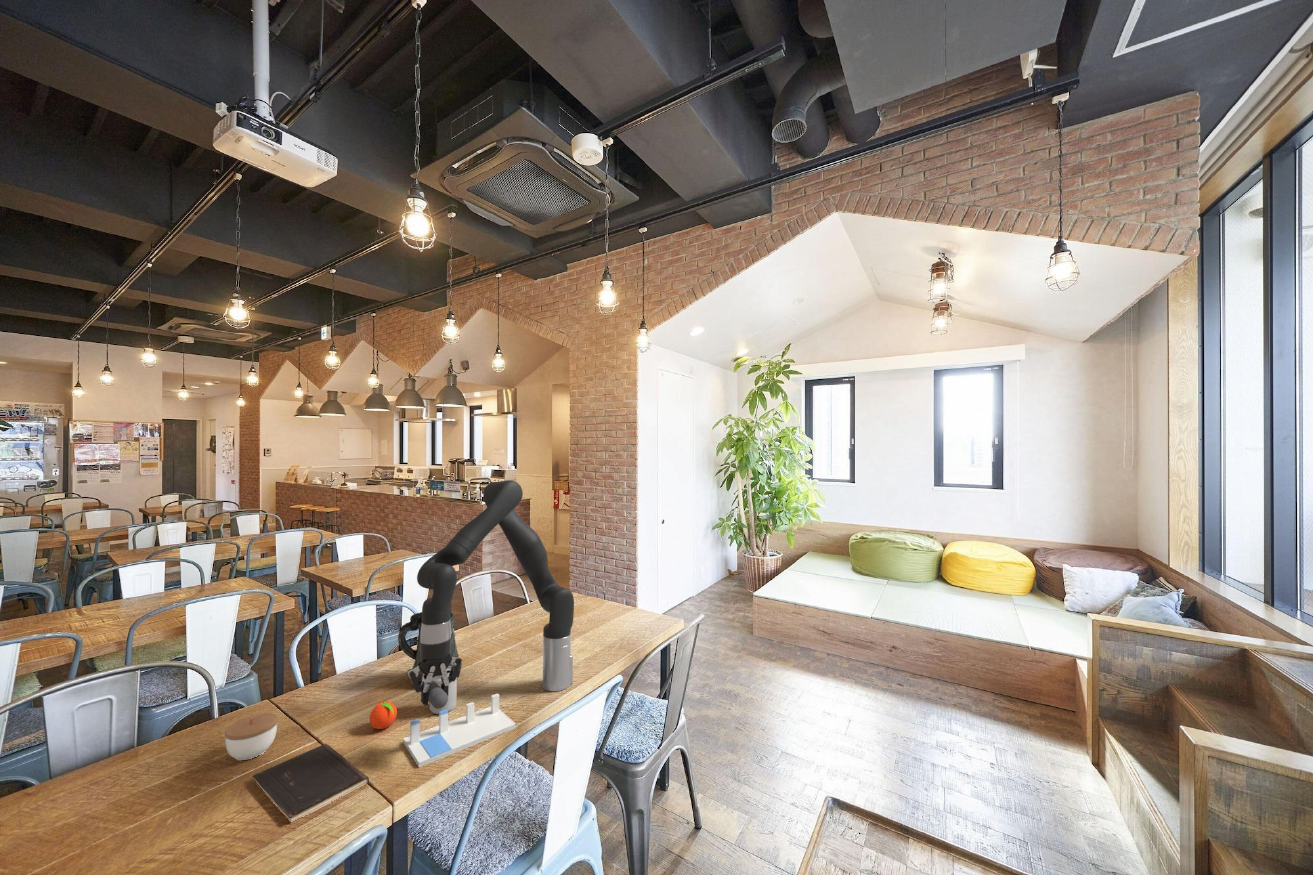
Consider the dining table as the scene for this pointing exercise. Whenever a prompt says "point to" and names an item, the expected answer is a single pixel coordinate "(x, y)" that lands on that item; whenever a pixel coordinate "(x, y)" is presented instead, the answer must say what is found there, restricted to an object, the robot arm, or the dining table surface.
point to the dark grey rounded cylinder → (437, 695)
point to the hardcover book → (310, 781)
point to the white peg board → (456, 732)
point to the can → (451, 694)
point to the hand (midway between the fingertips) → (434, 701)
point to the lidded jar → (251, 736)
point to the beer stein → (415, 654)
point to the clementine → (383, 715)
